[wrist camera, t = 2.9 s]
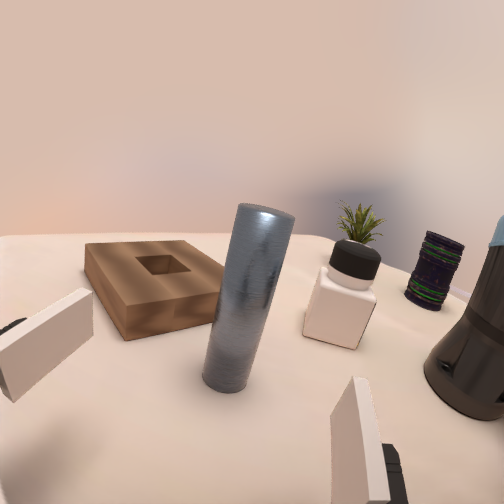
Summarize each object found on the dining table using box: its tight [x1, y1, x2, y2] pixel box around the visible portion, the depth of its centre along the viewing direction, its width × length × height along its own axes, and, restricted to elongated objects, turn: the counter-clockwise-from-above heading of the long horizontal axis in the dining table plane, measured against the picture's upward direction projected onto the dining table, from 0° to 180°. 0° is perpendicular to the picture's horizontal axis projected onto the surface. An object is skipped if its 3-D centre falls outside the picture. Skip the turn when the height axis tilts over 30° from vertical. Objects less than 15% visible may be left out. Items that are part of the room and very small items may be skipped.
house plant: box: [338, 204, 384, 245], centre depth 68 cm, size 14×14×16 cm
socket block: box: [84, 240, 224, 341], centre depth 36 cm, size 16×16×4 cm
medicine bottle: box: [303, 240, 381, 349], centre depth 36 cm, size 7×7×12 cm
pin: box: [202, 203, 295, 393], centre depth 23 cm, size 4×4×15 cm
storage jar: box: [404, 231, 465, 311], centre depth 56 cm, size 10×10×15 cm
